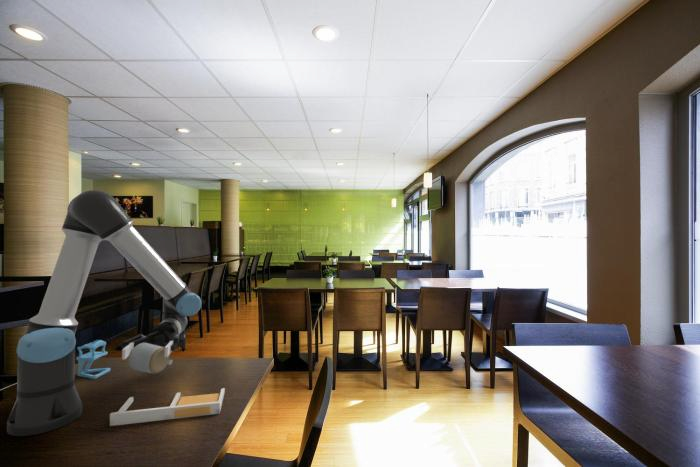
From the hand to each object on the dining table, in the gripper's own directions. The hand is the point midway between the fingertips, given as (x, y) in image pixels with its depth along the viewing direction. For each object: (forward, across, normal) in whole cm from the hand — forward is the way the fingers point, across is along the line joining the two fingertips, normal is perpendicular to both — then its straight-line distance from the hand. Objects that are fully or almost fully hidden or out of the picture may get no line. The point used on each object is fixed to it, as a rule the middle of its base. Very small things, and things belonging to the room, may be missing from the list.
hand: (145, 353), depth 95 cm
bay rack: (-4, -7, -17) cm, 19 cm away
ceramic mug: (-6, -1, -7) cm, 9 cm away
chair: (-37, +27, -18) cm, 49 cm away
